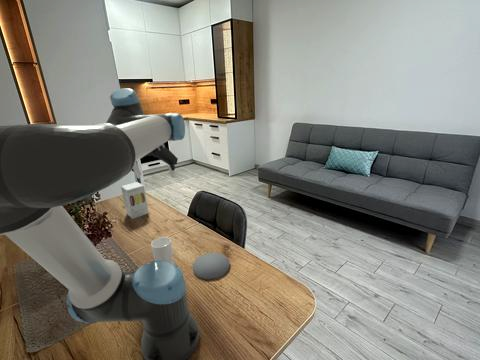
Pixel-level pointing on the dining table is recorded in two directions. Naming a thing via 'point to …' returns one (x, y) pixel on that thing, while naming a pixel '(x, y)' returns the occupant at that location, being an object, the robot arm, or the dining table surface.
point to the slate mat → (211, 266)
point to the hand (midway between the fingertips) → (156, 175)
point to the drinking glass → (162, 249)
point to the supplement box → (135, 200)
